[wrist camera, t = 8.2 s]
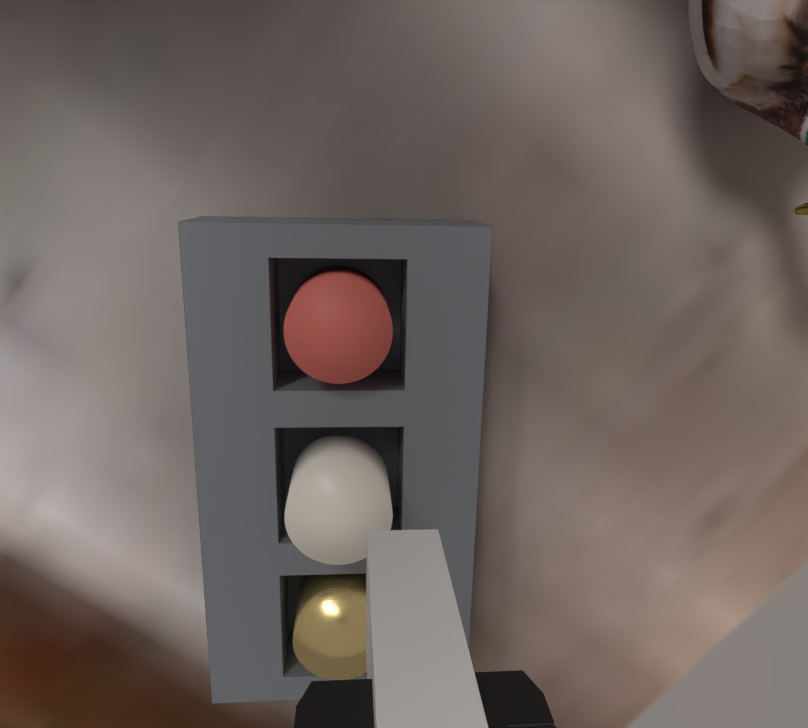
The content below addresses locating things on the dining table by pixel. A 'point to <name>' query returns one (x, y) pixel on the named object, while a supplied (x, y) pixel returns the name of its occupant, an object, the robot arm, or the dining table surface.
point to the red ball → (338, 325)
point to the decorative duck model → (756, 58)
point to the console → (324, 414)
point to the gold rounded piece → (332, 625)
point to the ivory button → (337, 499)
